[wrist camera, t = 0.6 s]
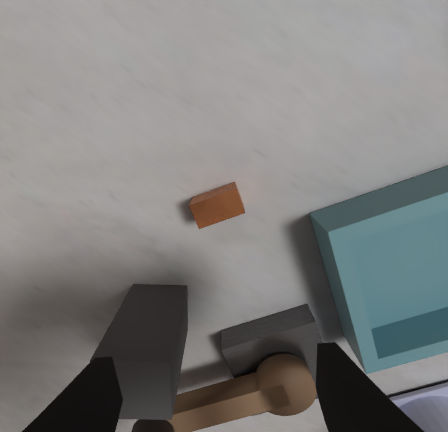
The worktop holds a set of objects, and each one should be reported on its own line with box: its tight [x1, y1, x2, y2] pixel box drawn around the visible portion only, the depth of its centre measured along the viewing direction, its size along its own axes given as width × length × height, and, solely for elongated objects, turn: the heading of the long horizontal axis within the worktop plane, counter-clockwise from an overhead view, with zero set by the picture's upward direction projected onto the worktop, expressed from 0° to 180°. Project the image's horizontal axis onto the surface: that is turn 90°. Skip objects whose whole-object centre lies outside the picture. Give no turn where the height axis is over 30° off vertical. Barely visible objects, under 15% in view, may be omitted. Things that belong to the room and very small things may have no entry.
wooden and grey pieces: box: [189, 182, 322, 416], centre depth 20 cm, size 18×7×2 cm, turn 20°
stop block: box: [90, 284, 188, 420], centre depth 18 cm, size 4×4×7 cm
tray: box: [309, 166, 448, 374], centre depth 18 cm, size 11×11×4 cm
